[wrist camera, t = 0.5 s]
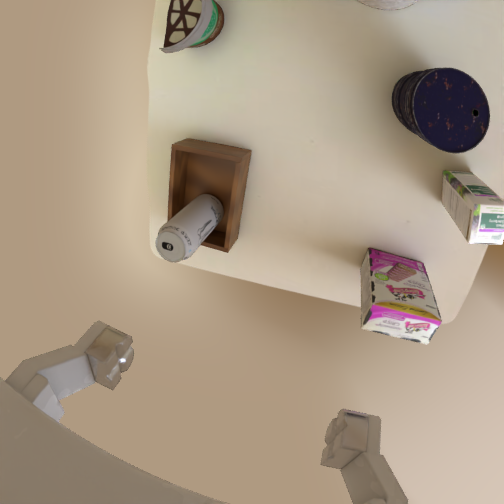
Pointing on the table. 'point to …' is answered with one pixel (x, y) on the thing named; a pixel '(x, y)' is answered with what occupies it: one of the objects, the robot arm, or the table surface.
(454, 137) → the blue barrel
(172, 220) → the energy drink can
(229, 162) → the wooden tray
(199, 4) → the food container
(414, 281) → the candy bar box
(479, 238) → the syrup box
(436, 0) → the table surface
